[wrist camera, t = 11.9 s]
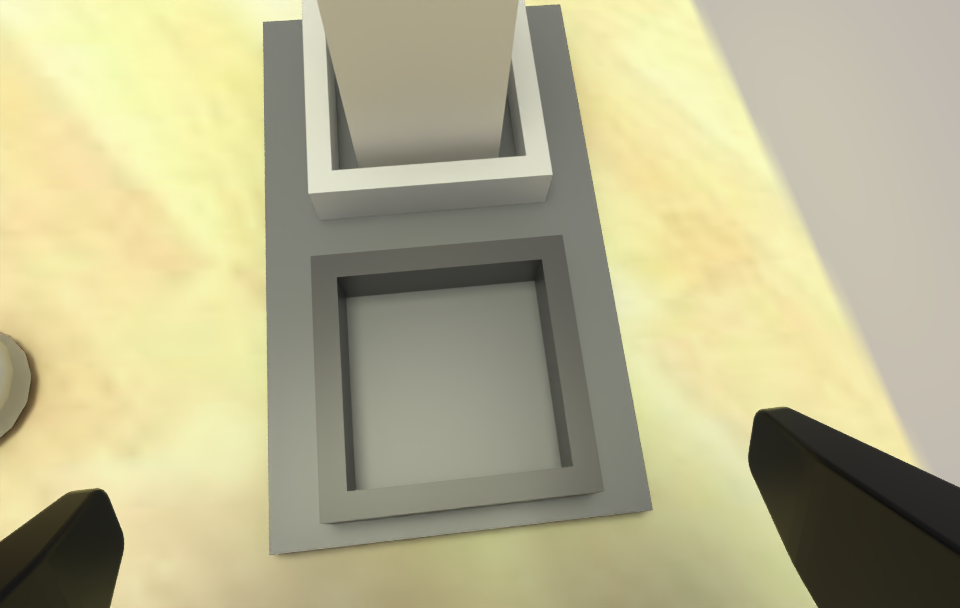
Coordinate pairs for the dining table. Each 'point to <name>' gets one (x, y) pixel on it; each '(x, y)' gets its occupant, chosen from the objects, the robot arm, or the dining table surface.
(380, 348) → the board
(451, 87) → the plug
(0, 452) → the dining table surface
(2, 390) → the rook chess piece
